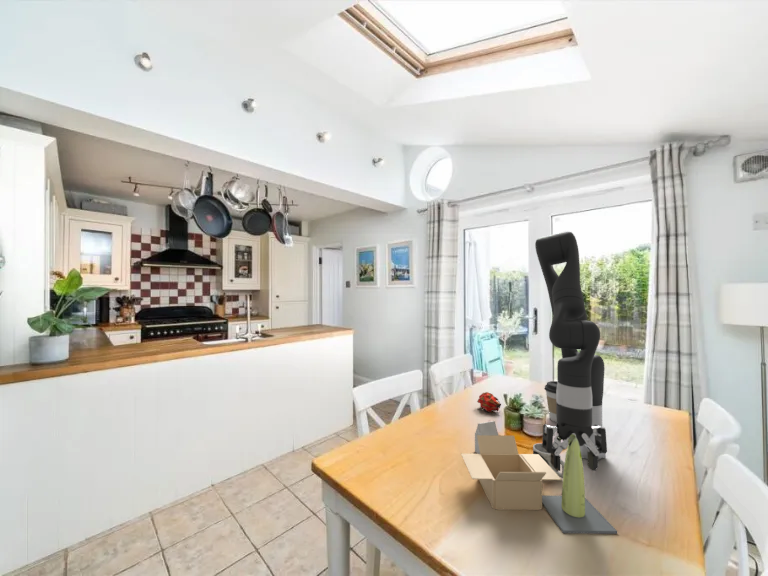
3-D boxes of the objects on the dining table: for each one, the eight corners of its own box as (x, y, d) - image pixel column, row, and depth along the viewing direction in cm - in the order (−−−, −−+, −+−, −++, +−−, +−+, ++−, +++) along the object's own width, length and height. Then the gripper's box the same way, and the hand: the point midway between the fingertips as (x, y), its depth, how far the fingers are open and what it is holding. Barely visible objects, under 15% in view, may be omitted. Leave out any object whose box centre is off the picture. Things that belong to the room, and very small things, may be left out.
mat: (583, 498, 82) (583, 495, 82) (617, 533, 70) (617, 531, 70) (537, 497, 82) (537, 495, 82) (563, 533, 70) (563, 530, 70)
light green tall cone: (592, 518, 74) (593, 435, 74) (575, 522, 72) (575, 437, 73) (572, 502, 79) (573, 425, 79) (556, 505, 78) (556, 427, 78)
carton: (532, 472, 94) (532, 435, 94) (570, 519, 74) (570, 472, 74) (458, 471, 94) (458, 434, 94) (476, 517, 75) (476, 471, 75)
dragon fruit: (480, 408, 148) (498, 421, 138) (469, 400, 145) (487, 413, 134) (490, 393, 150) (509, 405, 139) (479, 385, 146) (498, 396, 135)
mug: (528, 467, 96) (528, 445, 96) (543, 462, 99) (543, 441, 99) (557, 486, 87) (557, 462, 87) (573, 480, 90) (573, 457, 90)
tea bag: (498, 453, 105) (498, 423, 105) (481, 456, 102) (481, 426, 102) (491, 448, 108) (491, 418, 108) (474, 451, 106) (474, 421, 106)
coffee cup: (575, 418, 133) (575, 383, 133) (575, 428, 124) (574, 390, 124) (545, 412, 139) (545, 378, 140) (542, 421, 130) (542, 385, 130)
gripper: (593, 397, 80) (593, 461, 80) (537, 396, 80) (537, 460, 80) (614, 408, 72) (614, 478, 72) (552, 407, 73) (552, 478, 72)
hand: (574, 469), depth 76 cm, fingers open, 8 cm apart
